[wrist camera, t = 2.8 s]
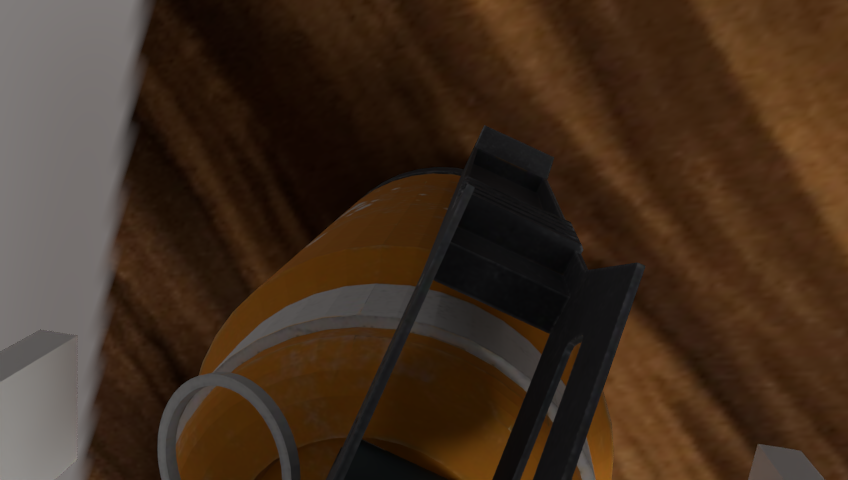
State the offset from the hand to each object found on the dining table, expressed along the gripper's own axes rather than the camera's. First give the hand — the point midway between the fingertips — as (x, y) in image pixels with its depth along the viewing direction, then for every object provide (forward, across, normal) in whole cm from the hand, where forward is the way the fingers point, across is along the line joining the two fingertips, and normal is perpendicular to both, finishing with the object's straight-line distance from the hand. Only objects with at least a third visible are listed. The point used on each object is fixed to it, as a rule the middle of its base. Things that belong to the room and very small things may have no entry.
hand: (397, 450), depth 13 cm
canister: (+14, 0, 0) cm, 14 cm away
